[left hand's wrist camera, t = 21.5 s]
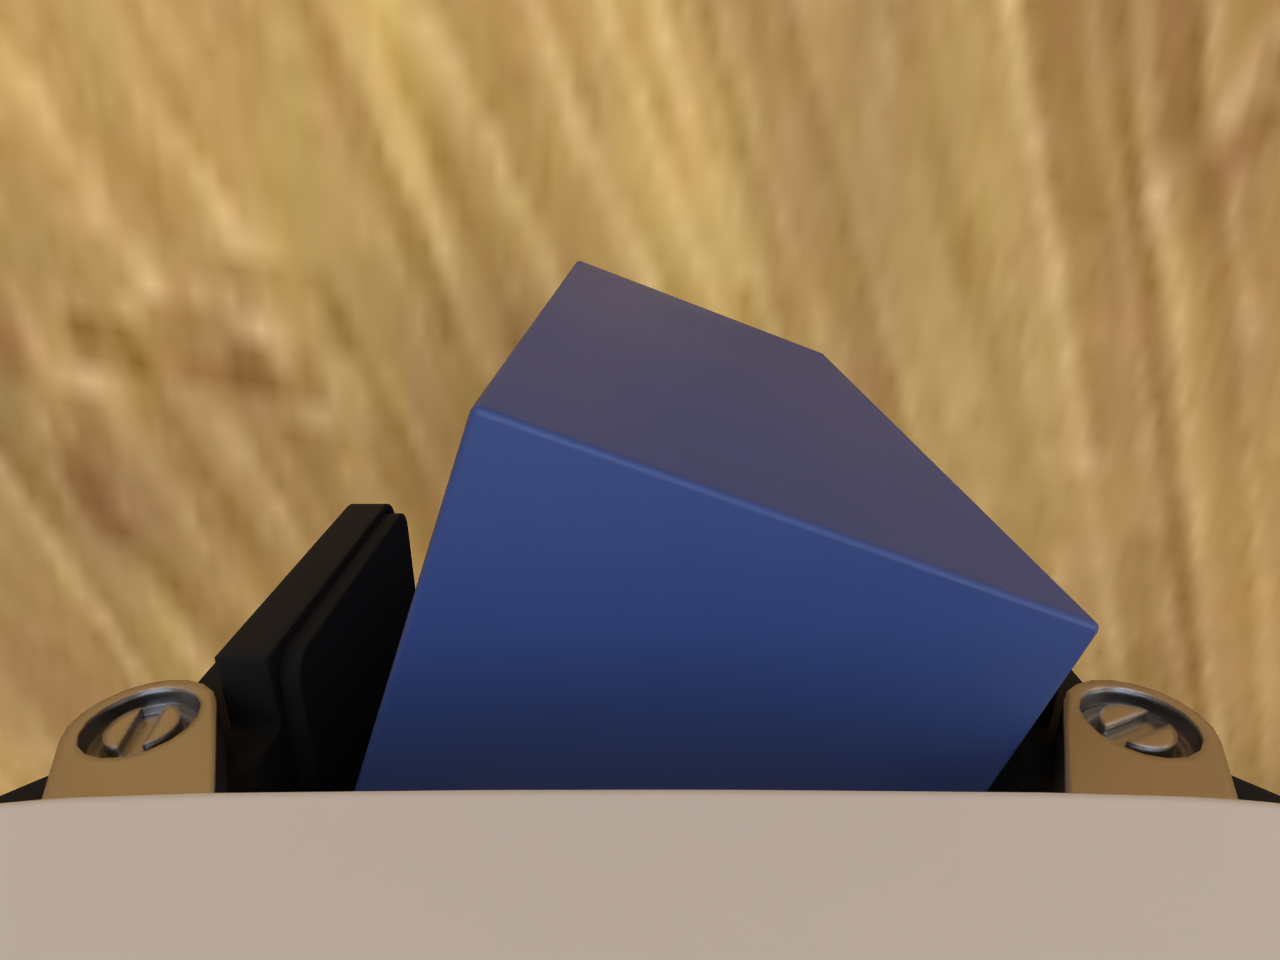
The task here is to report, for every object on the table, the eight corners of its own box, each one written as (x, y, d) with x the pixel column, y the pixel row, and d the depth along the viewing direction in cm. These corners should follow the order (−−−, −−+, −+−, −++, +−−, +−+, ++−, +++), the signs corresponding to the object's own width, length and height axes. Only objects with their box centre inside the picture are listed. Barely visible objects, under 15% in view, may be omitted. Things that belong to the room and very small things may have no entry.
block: (824, 354, 16) (1105, 626, 6) (687, 647, 18) (739, 1156, 9) (577, 259, 15) (470, 404, 6) (471, 578, 18) (274, 1049, 8)
